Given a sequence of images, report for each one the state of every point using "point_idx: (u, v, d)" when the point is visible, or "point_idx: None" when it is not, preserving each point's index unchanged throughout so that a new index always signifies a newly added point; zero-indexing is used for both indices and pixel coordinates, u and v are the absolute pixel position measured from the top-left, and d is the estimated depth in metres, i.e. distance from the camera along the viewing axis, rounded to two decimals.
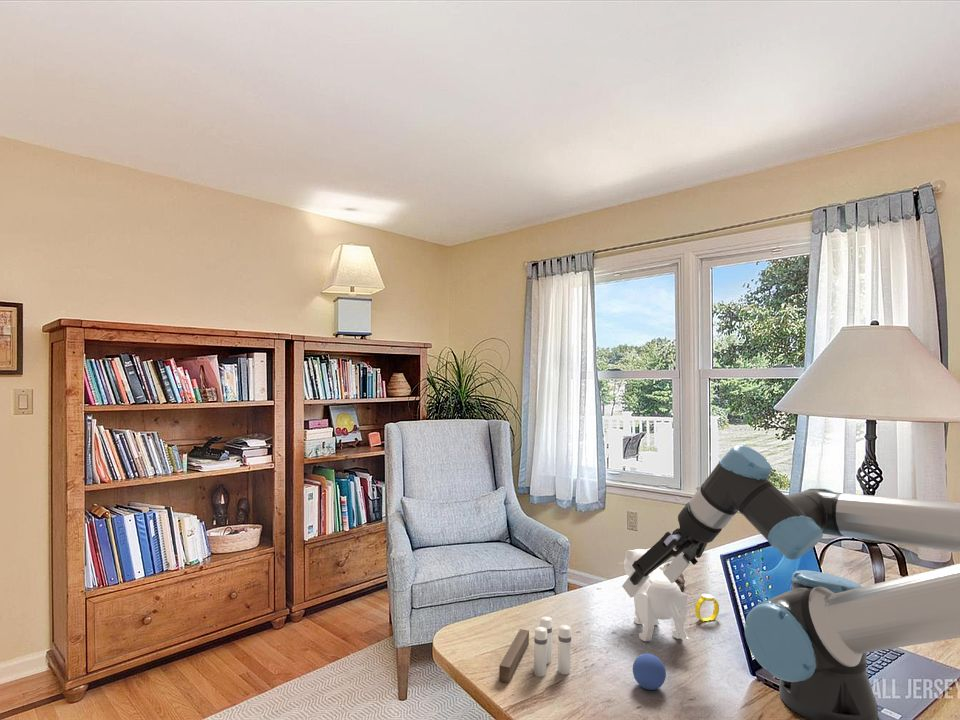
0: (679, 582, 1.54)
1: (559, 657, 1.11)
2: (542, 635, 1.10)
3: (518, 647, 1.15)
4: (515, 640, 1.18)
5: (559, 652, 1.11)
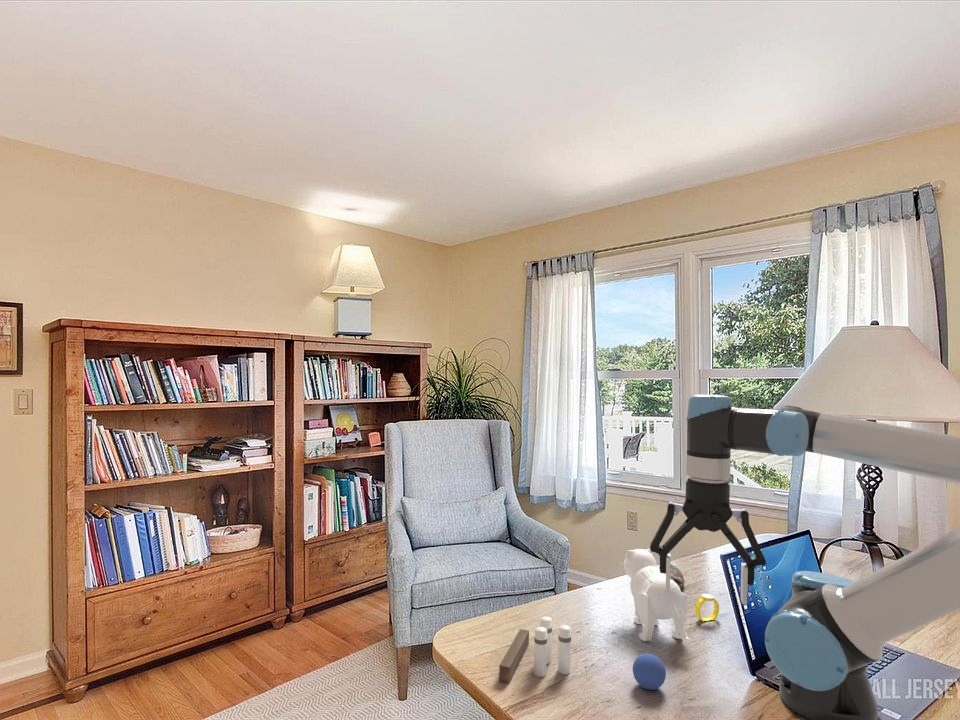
0: (679, 582, 1.54)
1: (559, 657, 1.11)
2: (542, 635, 1.10)
3: (518, 647, 1.15)
4: (515, 640, 1.18)
5: (559, 652, 1.11)
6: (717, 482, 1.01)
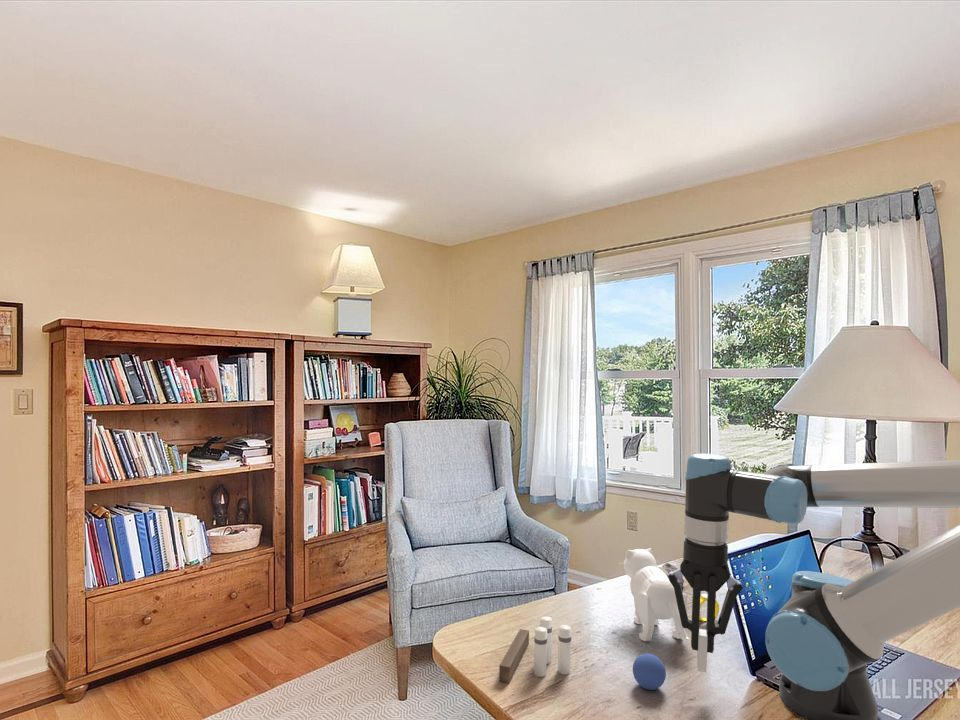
0: None
1: (559, 657, 1.11)
2: (542, 635, 1.09)
3: (518, 647, 1.15)
4: (515, 640, 1.18)
5: (559, 652, 1.11)
6: (715, 545, 1.01)
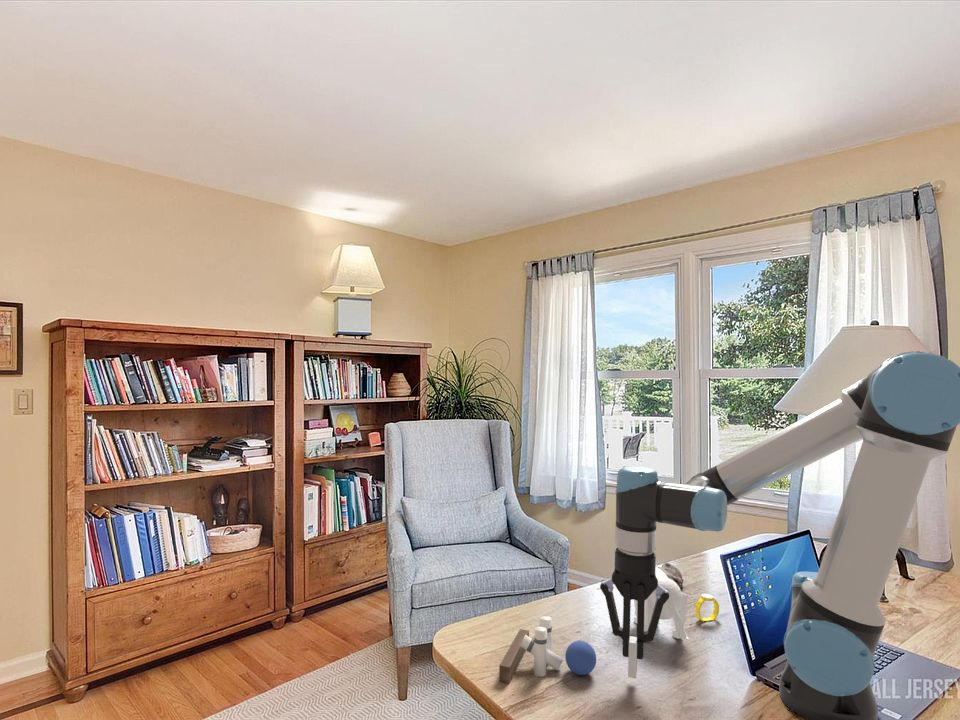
0: (678, 581, 1.55)
1: None
2: (542, 634, 1.10)
3: (518, 647, 1.15)
4: (515, 640, 1.18)
5: None
6: (642, 555, 1.05)
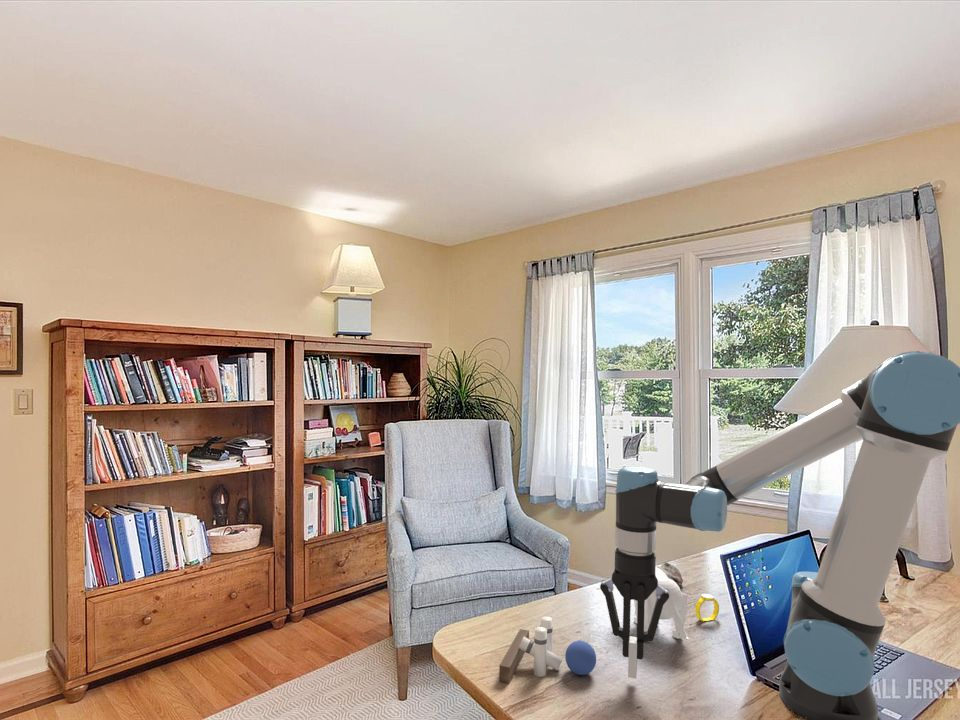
0: (677, 581, 1.55)
1: None
2: (542, 635, 1.09)
3: (518, 647, 1.15)
4: (515, 640, 1.18)
5: None
6: (642, 555, 1.05)
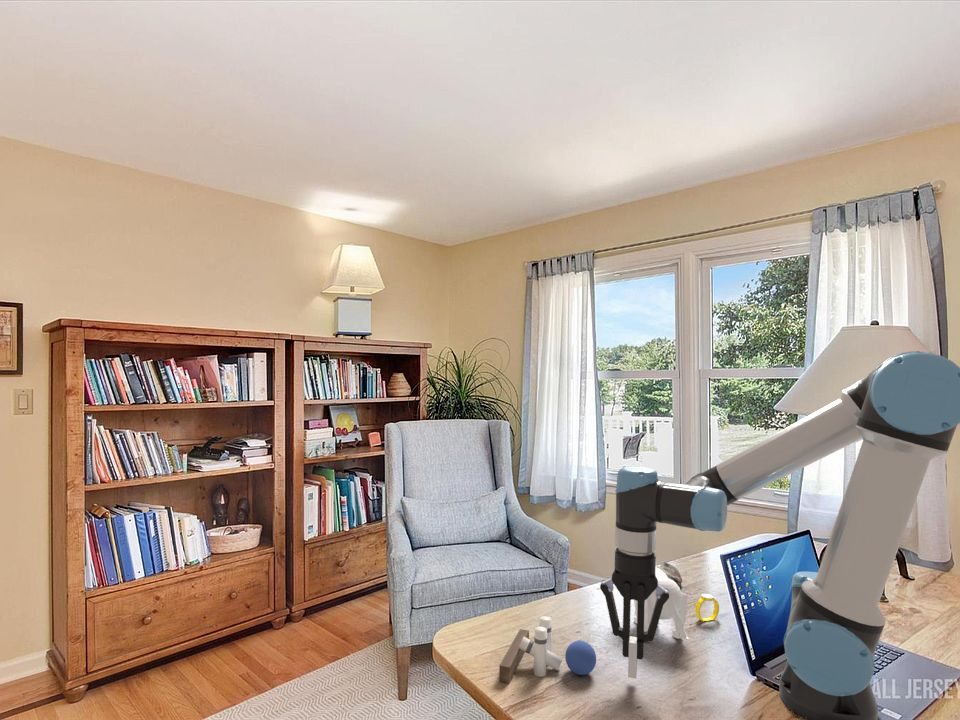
0: (677, 581, 1.55)
1: None
2: (542, 634, 1.10)
3: (518, 647, 1.15)
4: (515, 640, 1.18)
5: None
6: (642, 555, 1.05)
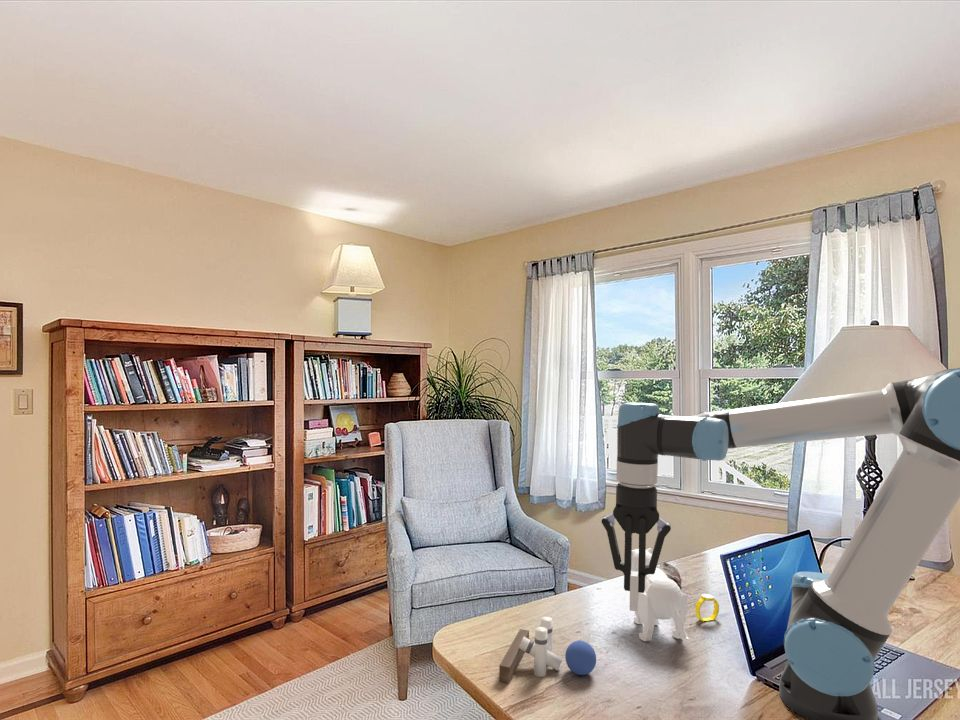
0: (676, 581, 1.55)
1: None
2: (542, 635, 1.09)
3: (518, 647, 1.15)
4: (515, 640, 1.18)
5: None
6: (644, 487, 1.05)
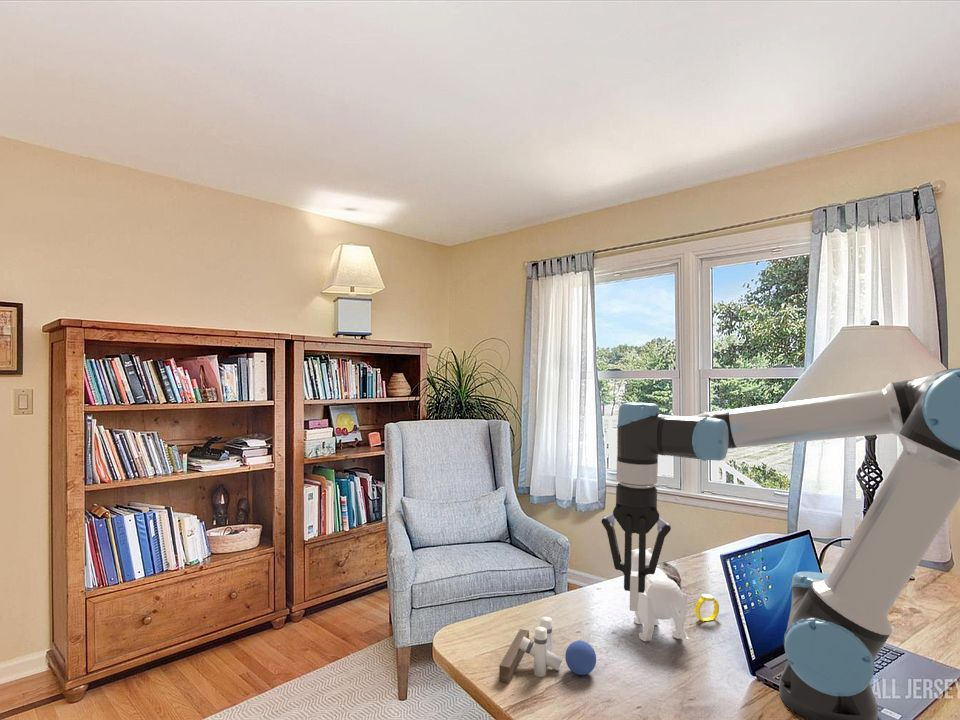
0: (676, 581, 1.55)
1: None
2: (542, 634, 1.10)
3: (518, 647, 1.15)
4: (515, 640, 1.18)
5: None
6: (644, 487, 1.05)
